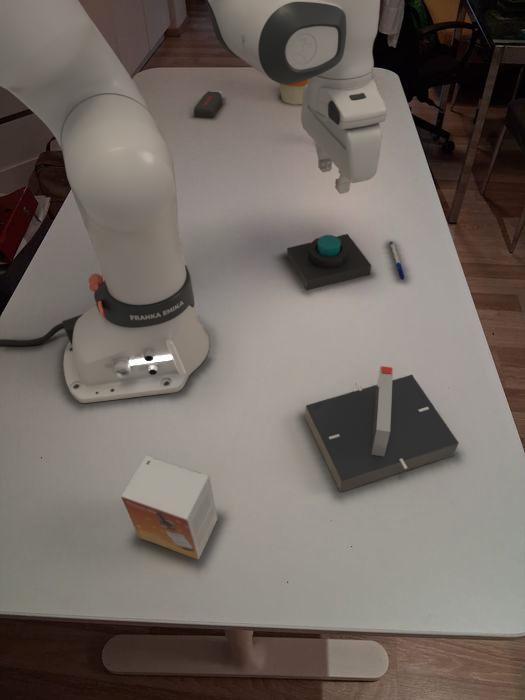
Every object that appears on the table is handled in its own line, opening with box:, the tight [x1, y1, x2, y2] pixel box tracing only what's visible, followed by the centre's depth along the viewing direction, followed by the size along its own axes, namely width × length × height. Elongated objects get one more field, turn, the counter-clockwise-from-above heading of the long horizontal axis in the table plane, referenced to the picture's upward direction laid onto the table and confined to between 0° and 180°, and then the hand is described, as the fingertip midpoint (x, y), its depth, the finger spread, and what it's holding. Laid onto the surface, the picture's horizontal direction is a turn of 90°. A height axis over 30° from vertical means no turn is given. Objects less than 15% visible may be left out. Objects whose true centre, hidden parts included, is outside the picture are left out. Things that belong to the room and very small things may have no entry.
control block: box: [286, 233, 372, 291], centre depth 96 cm, size 12×10×4 cm
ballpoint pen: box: [389, 241, 405, 280], centre depth 97 cm, size 10×1×1 cm, turn 3°
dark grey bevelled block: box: [193, 90, 223, 119], centre depth 144 cm, size 5×12×3 cm, turn 167°
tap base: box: [304, 374, 459, 493], centre depth 71 cm, size 16×14×3 cm
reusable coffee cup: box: [279, 79, 308, 105], centre depth 142 cm, size 13×13×15 cm
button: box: [317, 234, 341, 256], centre depth 94 cm, size 4×4×2 cm
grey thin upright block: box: [371, 366, 394, 457], centre depth 68 cm, size 10×2×6 cm, turn 169°
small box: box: [120, 454, 219, 561], centre depth 61 cm, size 8×6×10 cm
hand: (333, 180), depth 85 cm, fingers open, 5 cm apart
